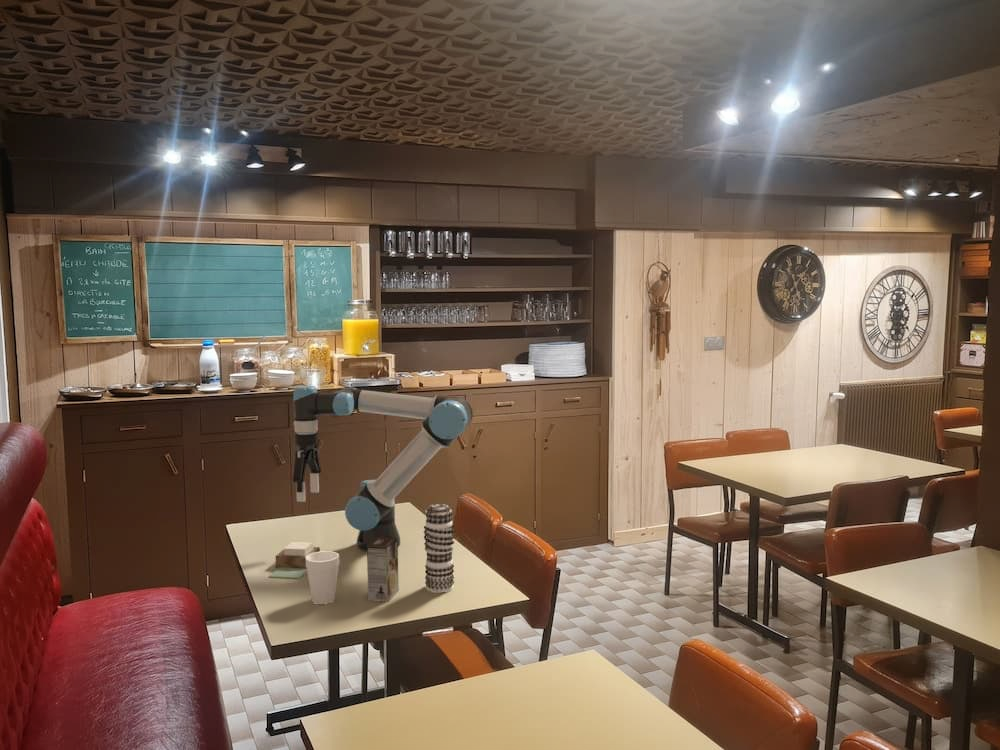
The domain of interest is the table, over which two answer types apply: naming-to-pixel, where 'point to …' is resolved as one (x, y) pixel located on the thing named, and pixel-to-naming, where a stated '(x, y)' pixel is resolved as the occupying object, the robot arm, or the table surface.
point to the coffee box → (382, 568)
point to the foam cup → (322, 575)
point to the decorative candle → (439, 548)
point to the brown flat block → (293, 560)
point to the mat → (288, 573)
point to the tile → (298, 548)
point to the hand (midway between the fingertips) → (308, 496)
